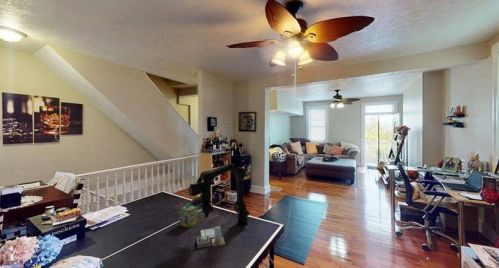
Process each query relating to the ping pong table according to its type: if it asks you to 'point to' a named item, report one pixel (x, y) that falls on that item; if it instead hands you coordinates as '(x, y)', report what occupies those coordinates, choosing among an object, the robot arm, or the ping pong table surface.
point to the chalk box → (188, 215)
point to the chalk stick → (217, 234)
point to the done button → (203, 239)
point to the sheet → (208, 233)
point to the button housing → (203, 244)
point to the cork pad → (218, 243)
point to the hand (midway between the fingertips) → (206, 217)
